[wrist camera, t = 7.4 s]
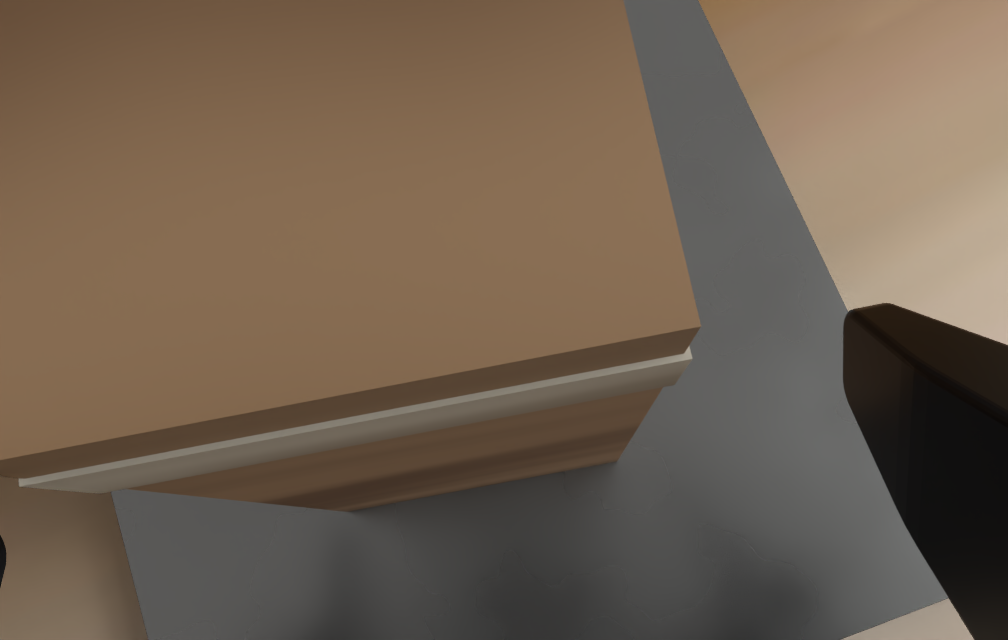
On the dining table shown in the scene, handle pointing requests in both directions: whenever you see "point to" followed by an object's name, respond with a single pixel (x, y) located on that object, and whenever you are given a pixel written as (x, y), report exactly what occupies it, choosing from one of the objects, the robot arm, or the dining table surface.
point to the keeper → (612, 486)
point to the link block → (328, 246)
